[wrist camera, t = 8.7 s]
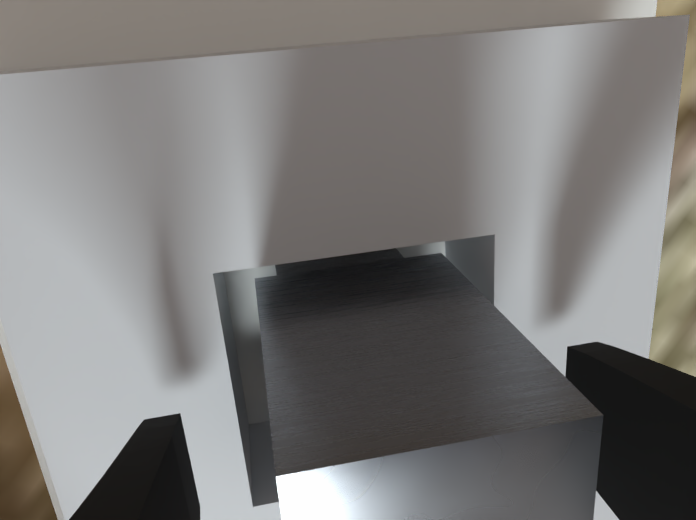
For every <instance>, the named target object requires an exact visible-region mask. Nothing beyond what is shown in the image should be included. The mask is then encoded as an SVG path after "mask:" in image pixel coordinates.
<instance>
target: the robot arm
mask: <svg viewBox="0 0 696 520" xmlns="http://www.w3.org/2000/svg"><path fill="white" fill-rule="evenodd" d="M565 377H566V378H567V379H568V380H569V381H570V382H571V383H572V384H573V385H574V386H575V387H576V388H577V389H578V390H579V391H580V392H581V393H582V394H583V395H584V396H585V397H586V398H587V399H588V400H589V401H590V402H591V403H592V404H593V405H594V406H595V407H596V408H597V409H598V410H599V411H600V412H601V413H602V414H603V424H602V435H601V445H600V456H599V466H598V476H597V487H596V491H597V492H598V494H599V495H600V496H601V497H602V499H603V500H604V501H605V503H606V504H607V505H608V506H609V508H610V509H611V510H612V511H613V513H614V514H615V515H616V516H617V518H618V519H619V520H696V377H694V376H691V375H689V374H686V373H683V372H681V371H678V370H676V369H673V368H670V367H668V366H665V365H663V364H660V363H657V362H655V361H652V360H650V359H647V358H644V357H642V356H639V355H636V354H634V353H631V352H628V351H626V350H623V349H620V348H617V347H614V346H611V345H607V344H604V343H600V342H591V343H585V344H580V345H574V346H568V347H567V359H566V375H565ZM69 520H200V503H199V499H198V494H197V489H196V485H195V480H194V475H193V471H192V466H191V461H190V456H189V452H188V447H187V442H186V438H185V433H184V428H183V424H182V419H181V414H180V413H179V414H173V415H167V416H161V417H155V418H150V419H144V420H143V421H142V423H141V424H140V425H139V426H138V428H137V429H136V430H135V432H134V433H133V435H132V436H131V437H130V439H129V440H128V442H127V443H126V444H125V446H124V447H123V449H122V450H121V451H120V453H119V454H118V456H117V457H116V458H115V460H114V461H113V463H112V464H111V465H110V467H109V468H108V469H107V471H106V472H105V474H104V475H103V476H102V478H101V479H100V480H99V481H98V483H97V484H96V485H95V487H94V488H93V489H92V491H91V492H90V493H89V495H88V496H87V497H86V499H85V500H84V501H83V502H82V504H81V505H80V506H79V508H78V509H77V510H76V511H75V513H74V514H73V515H72V516H71V518H70V519H69Z"/></svg>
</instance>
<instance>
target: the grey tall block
mask: <svg viewBox="0 0 696 520" xmlns="http://www.w3.org/2000/svg"><path fill="white" fill-rule="evenodd" d="M275 269H276V276H269V277H262V278H255V287H256V296H257V306H258V315H259V325H260V334H261V343H262V353H263V362H264V372H265V381H266V391H267V400H268V409H269V419H270V428H271V438H272V447H273V457H274V466H275V475H276V483H277V489H278V496H279V503H280V510H281V517H282V520H593V518H594V507H595V497H596V487H597V476H598V466H599V456H600V445H601V435H602V424H603V414H602V413H601V412H600V411H599V410H598V409H597V408H596V407H595V406H594V405H593V404H592V403H591V402H590V401H589V400H588V399H587V398H586V397H585V396H584V395H583V394H582V393H581V392H580V391H579V390H578V389H577V388H576V387H575V386H574V385H573V384H572V383H571V382H570V381H569V380H568V379H567V378H566V377H565V376H564V375H563V374H562V373H561V372H560V371H559V370H558V369H557V368H556V367H555V366H554V365H553V364H552V363H551V362H550V361H549V360H548V359H547V358H546V357H545V356H544V355H543V354H542V353H541V352H540V351H539V350H538V349H537V348H536V347H535V346H534V345H533V344H532V343H531V342H530V341H529V340H528V339H527V338H526V337H525V336H524V335H523V334H522V333H521V332H520V331H519V330H518V329H517V328H516V327H515V326H514V325H513V324H512V323H511V322H510V321H509V320H508V319H507V318H506V317H505V316H504V315H503V314H502V313H501V312H500V311H499V310H498V309H497V308H496V307H495V306H494V305H493V304H492V303H491V302H490V301H489V300H488V299H487V298H486V297H485V296H484V295H483V294H482V293H481V292H480V291H479V290H478V289H477V288H476V287H475V286H474V285H473V284H472V283H471V282H470V281H469V280H468V279H467V278H466V277H465V276H464V275H463V274H462V273H461V272H460V271H459V270H458V269H457V268H456V267H455V266H454V265H453V264H452V263H451V262H450V261H449V260H448V259H447V258H446V257H445V256H444V255H443V254H442V253H436V254H429V255H422V256H414V257H407V258H404V257H403V256H402V255H401V254H400V252H399V251H398V250H397V249H396V248H393V249H386V250H379V251H372V252H364V253H357V254H350V255H343V256H336V257H328V258H321V259H314V260H307V261H300V262H292V263H285V264H278V265H275Z"/></svg>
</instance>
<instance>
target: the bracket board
mask: <svg viewBox="0 0 696 520" xmlns="http://www.w3.org/2000/svg"><path fill="white" fill-rule="evenodd" d="M656 6H657V0H0V345H1V348H2V351H3V354H4V357H5V360H6V363H7V366H8V369H9V372H10V375H11V378H12V381H13V384H14V387H15V391H16V394H17V397H18V400H19V403H20V406H21V409H22V412H23V415H24V418H25V421H26V424H27V427H28V430H29V433H30V436H31V439H32V443H33V446H34V449H35V452H36V455H37V458H38V461H39V464H40V467H41V470H42V473H43V476H44V479H45V482H46V485H47V488H48V491H49V494H50V498H51V501H52V504H53V507H54V510H55V513H56V516H57V519H58V520H69V519H70V518H71V516H72V515H73V514H74V513H75V511H76V510H77V509H78V508H79V506H80V505H81V504H82V502H83V501H84V500H85V499H86V497H87V496H88V495H89V493H90V492H91V491H92V489H93V488H94V487H95V485H96V484H97V483H98V481H99V480H100V479H101V478H102V476H103V475H104V474H105V472H106V471H107V469H108V468H109V467H110V465H111V464H112V463H113V461H114V460H115V458H116V457H117V456H118V454H119V453H120V451H121V450H122V449H123V447H124V446H125V444H126V443H127V442H128V440H129V439H130V437H131V436H132V435H133V433H134V432H135V430H136V429H137V428H138V426H139V425H140V424H141V423H142V421H143V420H144V419H150V418H155V417H161V416H167V415H173V414H179V413H180V414H181V419H182V424H183V428H184V433H185V438H186V442H187V447H188V452H189V456H190V461H191V466H192V471H193V475H194V480H195V485H196V489H197V494H198V499H199V503H200V520H282V517H281V510H280V503H279V496H278V489H277V483H276V475H275V466H274V457H273V447H272V438H271V428H270V419H269V409H268V400H267V391H266V381H265V372H264V362H263V353H262V343H261V334H260V325H259V315H258V306H257V296H256V287H255V278H262V277H269V276H276V269H275V265H278V264H285V263H292V262H300V261H307V260H314V259H321V258H328V257H336V256H343V255H350V254H357V253H364V252H372V251H379V250H386V249H393V248H396V249H397V250H398V251H399V252H400V254H401V255H402V256H403V257H404V258H407V257H414V256H422V255H429V254H436V253H442V254H443V255H444V256H445V257H446V258H447V259H448V260H449V261H450V262H451V263H452V264H453V265H454V266H455V267H456V268H457V269H458V270H459V271H460V272H461V273H462V274H463V275H464V276H465V277H466V278H467V279H468V280H469V281H470V282H471V283H472V284H473V285H474V286H475V287H476V288H477V289H478V290H479V291H480V292H481V293H482V294H483V295H484V296H485V297H486V298H487V299H488V300H489V301H490V302H491V303H492V304H493V305H494V306H495V307H496V308H497V309H498V310H499V311H500V312H501V313H502V314H503V315H504V316H505V317H506V318H507V319H508V320H509V321H510V322H511V323H512V324H513V325H514V326H515V327H516V328H517V329H518V330H519V331H520V332H521V333H522V334H523V335H524V336H525V337H526V338H527V339H528V340H529V341H530V342H531V343H532V344H533V345H534V346H535V347H536V348H537V349H538V350H539V351H540V352H541V353H542V354H543V355H544V356H545V357H546V358H547V359H548V360H549V361H550V362H551V363H552V364H553V365H554V366H555V367H556V368H557V369H558V370H559V371H560V372H561V373H562V374H563V375H564V376H565V375H566V359H567V347H568V346H574V345H580V344H585V343H591V342H600V343H604V344H607V345H611V346H614V347H617V348H620V349H623V350H626V351H628V352H631V353H634V354H636V355H639V356H642V357H644V358H647V359H648V358H649V350H650V342H651V333H652V325H653V317H654V308H655V300H656V292H657V283H658V275H659V267H660V258H661V250H662V242H663V233H664V225H665V217H666V208H667V200H668V192H669V183H670V175H671V167H672V158H673V150H674V141H675V133H676V125H677V116H678V108H679V100H680V91H681V83H682V75H683V66H684V58H685V50H686V41H687V33H688V25H689V16H690V15H677V16H659V17H655V16H656ZM593 520H619V519H618V518H617V516H616V515H615V514H614V513H613V511H612V510H611V509H610V508H609V506H608V505H607V504H606V503H605V501H604V500H603V499H602V497H601V496H600V495H599V494H598V492H597V491H596V497H595V507H594V518H593Z"/></svg>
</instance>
